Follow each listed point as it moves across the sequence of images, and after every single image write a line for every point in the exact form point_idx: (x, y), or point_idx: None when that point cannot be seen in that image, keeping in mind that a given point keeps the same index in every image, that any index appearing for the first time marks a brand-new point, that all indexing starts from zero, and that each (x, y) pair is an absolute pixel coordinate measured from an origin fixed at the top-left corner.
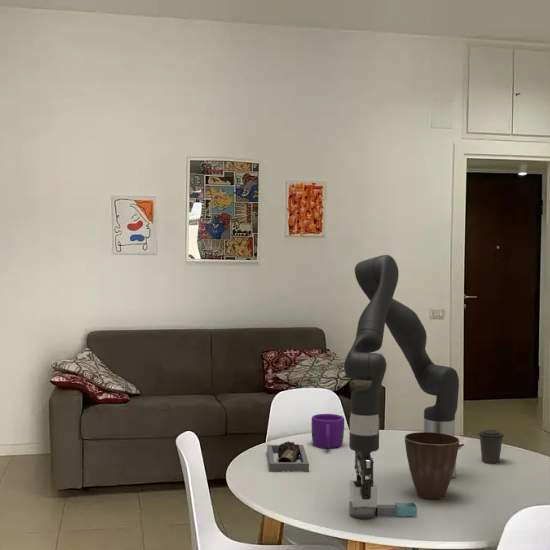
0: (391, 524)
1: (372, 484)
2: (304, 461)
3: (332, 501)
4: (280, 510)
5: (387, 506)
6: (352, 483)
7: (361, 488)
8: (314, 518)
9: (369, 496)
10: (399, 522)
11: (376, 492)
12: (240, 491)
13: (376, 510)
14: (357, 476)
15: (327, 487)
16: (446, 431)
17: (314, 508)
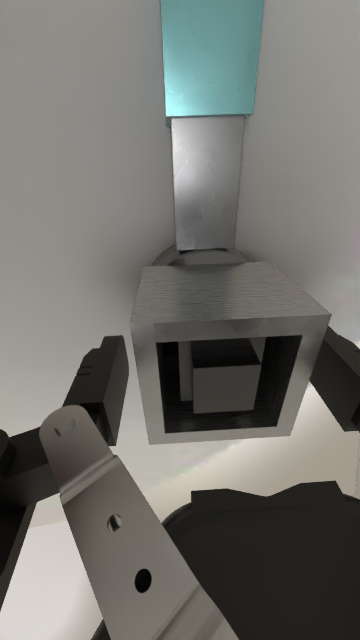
0: (332, 182)
1: (237, 336)
2: None
3: (59, 378)
4: (164, 471)
5: (208, 183)
6: (211, 437)
7: (298, 398)
8: None
9: (349, 341)
10: (318, 127)
11: (309, 299)
12: (47, 522)
13: (227, 249)
14: (116, 432)
15: None
16: None
17: (141, 418)
